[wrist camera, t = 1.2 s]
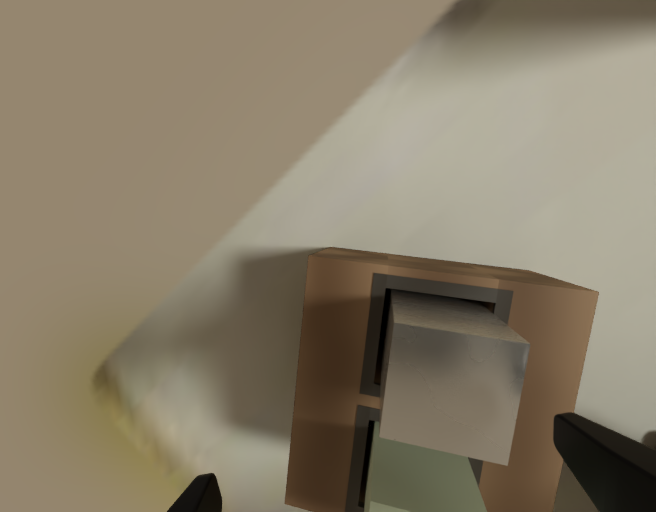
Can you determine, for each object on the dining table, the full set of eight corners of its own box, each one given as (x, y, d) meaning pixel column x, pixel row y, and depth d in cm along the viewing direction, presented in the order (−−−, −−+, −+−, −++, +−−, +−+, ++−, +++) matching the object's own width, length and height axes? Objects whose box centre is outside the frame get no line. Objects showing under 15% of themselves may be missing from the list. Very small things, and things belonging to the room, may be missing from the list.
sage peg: (454, 420, 15) (494, 533, 10) (443, 491, 16) (475, 637, 10) (375, 404, 16) (370, 500, 10) (367, 472, 17) (357, 600, 11)
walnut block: (529, 270, 18) (599, 292, 12) (493, 469, 19) (539, 575, 14) (331, 246, 20) (308, 255, 14) (312, 428, 22) (284, 504, 16)
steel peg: (474, 298, 15) (530, 343, 9) (462, 376, 15) (507, 466, 10) (390, 287, 15) (394, 322, 10) (381, 361, 16) (378, 437, 10)
